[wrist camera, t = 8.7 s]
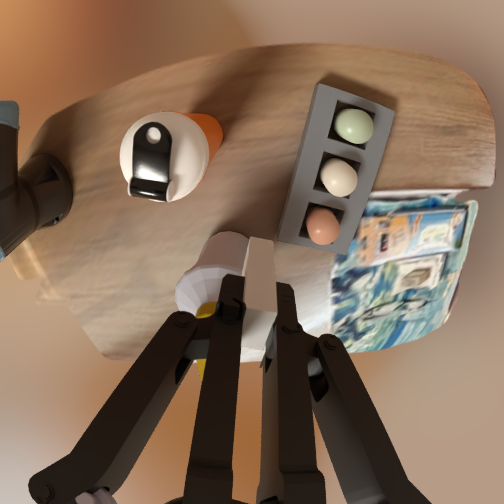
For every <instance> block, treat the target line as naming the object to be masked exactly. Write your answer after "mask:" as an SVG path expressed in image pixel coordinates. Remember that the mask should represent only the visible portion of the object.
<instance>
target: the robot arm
mask: <svg viewBox="0 0 504 504" xmlns="http://www.w3.org/2000/svg"><path fill="white" fill-rule="evenodd" d="M19 128H20V127H19V105H18V104H17V103H16V102H15V101H0V262H1V261H3V260H4V259H5V257H6V256H7V255H9V254H10V253H11V252H12V251H13V250H14V249H15V248H16V247H17V246H18V245H19V244H20V243H22V242H23V241H24V240H25V239H26V238H27V237H28V236H30V235H31V234H32V233H33V232H35V231H36V230H40V229H44V228H48V227H52V226H54V225H56V224H58V223H59V222H60V221H62V220H63V219H64V218H65V217H66V216H67V215H68V213H69V211H70V208H71V204H72V187H71V183H70V179H69V176H68V174H67V172H66V170H65V168H64V167H63V165H62V164H61V163H60V162H59V161H58V160H57V159H56V158H55V157H53V156H51V155H48V154H40V155H37V156H35V157H33V158H31V159H29V160H28V161H27V162H26V163H25V164H24V165H23V166H22V167H21V168H20V169H19V170H18V163H17V162H18V159H17V158H18V153H17V152H18V130H19ZM265 345H266V352H265V354H264V357H263V359H262V362H261V365H260V368H261V367H262V366H263V390H262V396H263V397H262V434H261V469H260V483H259V486H258V489H257V496H256V504H326V490H325V479H324V476H323V474H322V473H321V472H320V471H319V470H318V468H317V463H316V462H317V461H316V447H315V435H314V423H313V412H314V415H315V418H316V420H317V423H318V426H319V429H320V431H321V434H322V437H323V439H324V442H325V445H326V448H327V450H328V453H329V456H330V459H331V462H332V464H333V467H334V470H335V472H336V475H337V478H338V480H339V483H340V486H341V489H342V492H343V495H344V497H345V499H346V501H347V504H432V503H431V502H430V501H429V500H428V499H427V498H426V497H425V496H424V495H423V494H422V493H421V492H420V491H419V490H418V489H417V488H416V487H415V486H414V485H413V484H412V483H411V482H410V481H409V480H408V478H407V476H406V474H405V472H404V469H403V467H402V465H401V462H400V460H399V458H398V456H397V453H396V451H395V449H394V447H393V445H392V442H391V440H390V438H389V436H388V434H387V432H386V430H385V427H384V425H383V423H382V421H381V419H380V417H379V415H378V413H377V411H376V408H375V407H374V404H373V402H372V400H371V398H370V396H369V394H368V392H367V390H366V388H365V386H364V384H363V382H362V380H361V378H360V376H359V374H358V372H357V370H356V368H355V366H354V364H353V362H352V360H351V358H350V356H349V354H348V352H347V351H346V349H345V347H344V345H343V343H342V341H341V340H340V339H339V338H338V337H336V336H335V335H332V334H322V335H321V336H320V337H319V338H317V337H315V336H312V335H310V334H308V333H306V332H304V331H303V328H302V326H301V325H300V324H299V323H298V319H297V311H296V304H295V296H294V290H293V289H292V287H291V286H290V284H285V283H280V282H276V275H275V258H274V243H273V241H271V240H266V239H261V238H256V237H251V236H250V240H249V244H248V248H247V253H246V257H245V262H244V266H243V270H242V276H238V275H233V274H228V273H227V274H226V275H225V276H224V277H223V278H222V283H221V288H220V293H219V298H218V301H217V303H216V310H215V312H214V313H213V314H212V315H211V316H209V317H205V318H196V317H195V316H194V315H193V314H192V313H190V312H187V311H177V312H174V313H172V314H171V315H170V316H169V317H168V319H167V320H166V321H165V323H164V324H163V325H162V326H161V328H160V329H159V330H158V332H157V333H156V334H155V336H154V337H153V338H152V340H151V341H150V342H149V344H148V345H147V346H146V348H145V349H144V350H143V352H142V353H141V354H140V356H139V357H138V358H137V360H136V361H135V363H134V364H133V365H132V367H131V368H130V369H129V371H128V372H127V373H126V375H125V376H124V378H123V379H122V380H121V382H120V383H119V384H118V386H117V387H116V389H115V390H114V391H113V393H112V394H111V396H110V397H109V398H108V400H107V401H106V402H105V404H104V405H103V407H102V408H101V410H100V411H99V412H98V414H97V415H96V417H95V418H94V419H93V421H92V422H91V424H90V425H89V427H88V428H87V429H86V431H85V432H84V434H83V435H82V437H81V438H80V440H79V441H78V443H77V444H76V446H75V447H74V449H73V450H72V451H71V453H70V454H68V455H67V456H65V457H63V458H62V459H60V460H59V461H57V462H55V463H54V464H52V465H50V466H48V467H47V468H45V469H43V470H42V471H40V472H38V473H36V474H35V475H33V476H32V477H31V478H30V480H29V484H28V487H29V492H30V494H31V497H32V498H33V499H34V501H35V502H36V503H37V504H117V503H116V501H115V499H114V498H113V497H112V495H113V494H114V493H115V492H116V491H117V490H118V489H119V488H120V487H121V486H122V484H123V483H124V481H125V480H126V478H127V477H128V475H129V473H130V471H131V469H132V468H133V466H134V464H135V463H136V461H137V459H138V457H139V456H140V454H141V452H142V451H143V449H144V447H145V445H146V444H147V442H148V440H149V438H150V436H151V435H152V433H153V431H154V429H155V427H156V426H157V424H158V423H159V421H160V419H161V417H162V415H163V414H164V412H165V410H166V408H167V407H168V405H169V403H170V402H171V399H172V398H173V396H174V394H175V393H176V391H177V389H178V387H179V386H180V384H181V382H182V380H183V379H184V377H185V375H186V373H187V372H188V370H189V368H190V366H191V365H192V363H193V361H194V360H197V359H206V363H205V368H204V374H203V380H202V385H201V391H200V397H199V403H198V409H197V414H196V420H195V426H194V433H193V438H192V444H191V451H190V457H189V463H188V468H187V474H186V481H185V487H184V496H183V497H180V498H176V499H173V500H171V501H169V502H167V503H165V504H248V503H244V502H241V501H237V500H233V499H232V487H233V470H232V455H233V442H234V429H235V417H236V404H237V392H238V378H239V366H240V354H241V347H244V348H250V349H257V350H264V347H265ZM312 410H313V412H312Z"/></svg>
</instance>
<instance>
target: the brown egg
mask: <svg viewBox="0 0 504 504" xmlns="http://www.w3.org/2000/svg"><path fill="white" fill-rule="evenodd" d="M305 223H306V226H307V230H308V233H309V236H310V238H311V240H312V241H313V242H315V243H317V244H320V245H326V244H330V243H332V242H333V241H335V240H336V239H337V237H338V235H339V233H340V225H339V223H338V221H337V219H336V218H335V216H334V214H333V212H332V211H331V210H330V209H329V208H328V207H325V206H316V207H313V208H312V209H310V210H309V211H308V213H307V214H306V217H305Z"/></svg>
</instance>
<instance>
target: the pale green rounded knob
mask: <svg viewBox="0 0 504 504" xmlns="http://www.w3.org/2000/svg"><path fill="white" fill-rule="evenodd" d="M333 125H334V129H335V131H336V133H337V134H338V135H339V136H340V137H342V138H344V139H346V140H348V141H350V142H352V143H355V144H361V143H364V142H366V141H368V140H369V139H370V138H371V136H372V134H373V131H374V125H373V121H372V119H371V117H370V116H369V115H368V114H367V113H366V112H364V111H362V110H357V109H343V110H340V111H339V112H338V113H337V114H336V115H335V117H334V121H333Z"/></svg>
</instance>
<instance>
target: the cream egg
mask: <svg viewBox="0 0 504 504" xmlns="http://www.w3.org/2000/svg"><path fill="white" fill-rule="evenodd" d="M319 175H320V179H321V181H322V182H323V184H324V185H325V187H326V188H327V190H328V191H329V192H330V193H331V194H333V195H335V196H338V197H343V196H347V195H349V194H350V193H352V192H353V191H354V189H355V188H356V186H357V181H358V178H357V174H356V172H355V170H354V169H353V168H352V167H351V166H349V165H348V164H347V163H346V162H344V161H343V160H341V159H339V158H331V159H328V160H326V161H325V162H324V163H323V164H322V166H321V168H320V172H319Z"/></svg>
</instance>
